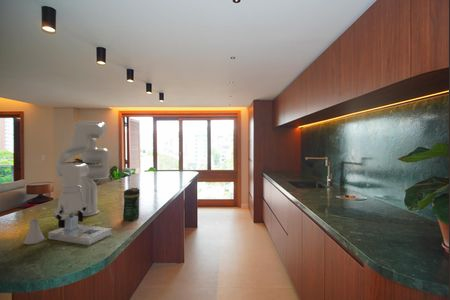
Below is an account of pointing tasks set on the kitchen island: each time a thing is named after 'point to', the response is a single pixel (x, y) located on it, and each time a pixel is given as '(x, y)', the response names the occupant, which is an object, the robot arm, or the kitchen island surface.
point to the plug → (71, 222)
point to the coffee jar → (131, 204)
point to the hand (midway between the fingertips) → (71, 224)
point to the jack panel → (81, 234)
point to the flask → (34, 233)
